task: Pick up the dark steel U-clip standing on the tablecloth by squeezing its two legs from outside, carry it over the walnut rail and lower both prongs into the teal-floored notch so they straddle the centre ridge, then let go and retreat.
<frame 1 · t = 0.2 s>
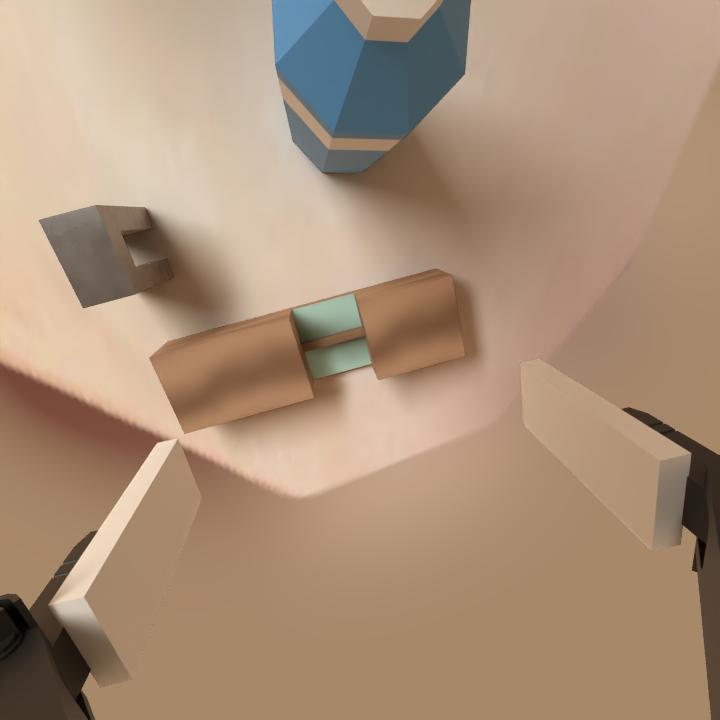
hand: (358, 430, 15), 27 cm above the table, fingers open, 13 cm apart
water bottle: (341, 120, 36), on the table
rail: (314, 341, 42), on the table
clip: (138, 248, 38), on the table
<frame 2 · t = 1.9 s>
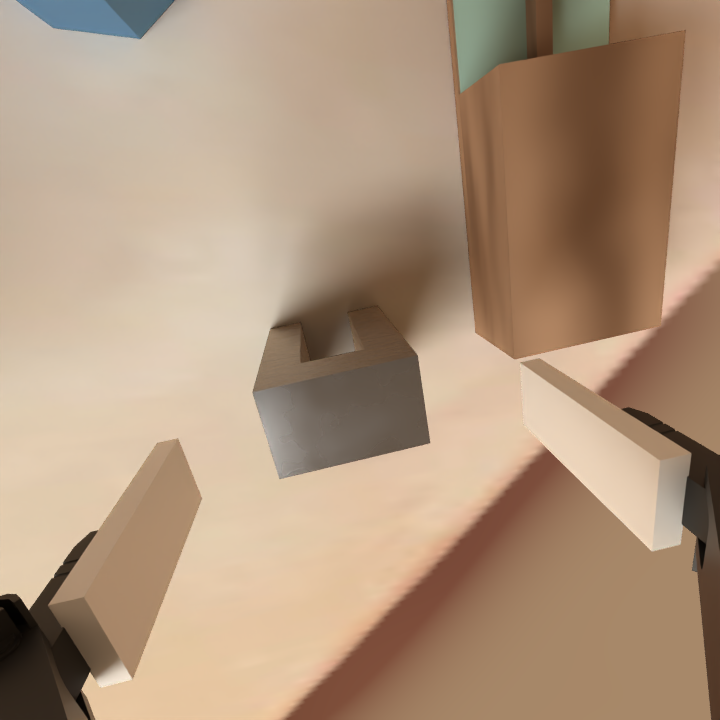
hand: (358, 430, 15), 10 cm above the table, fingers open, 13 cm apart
rail: (528, 56, 21), on the table
clip: (331, 348, 25), on the table
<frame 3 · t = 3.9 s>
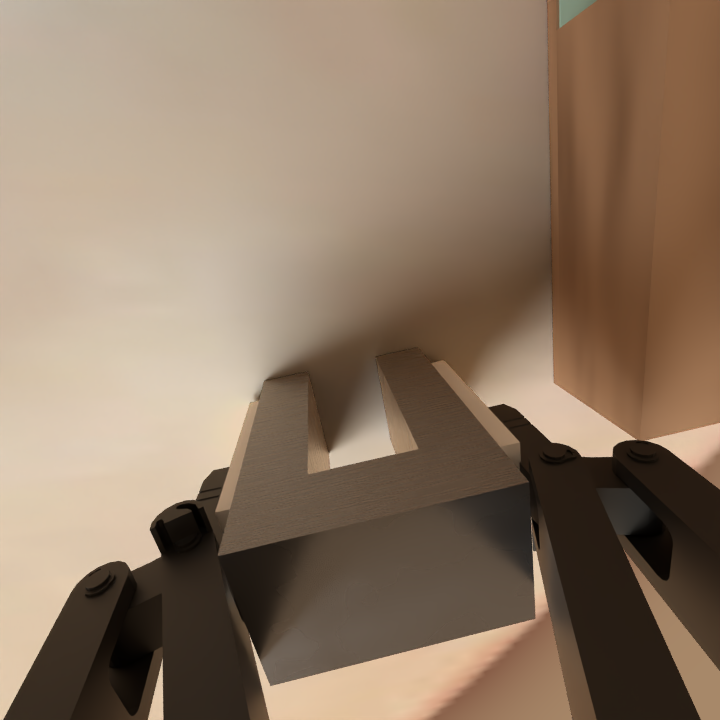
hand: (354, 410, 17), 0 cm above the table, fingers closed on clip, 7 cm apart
clip: (351, 407, 17), on the table, touching gripper
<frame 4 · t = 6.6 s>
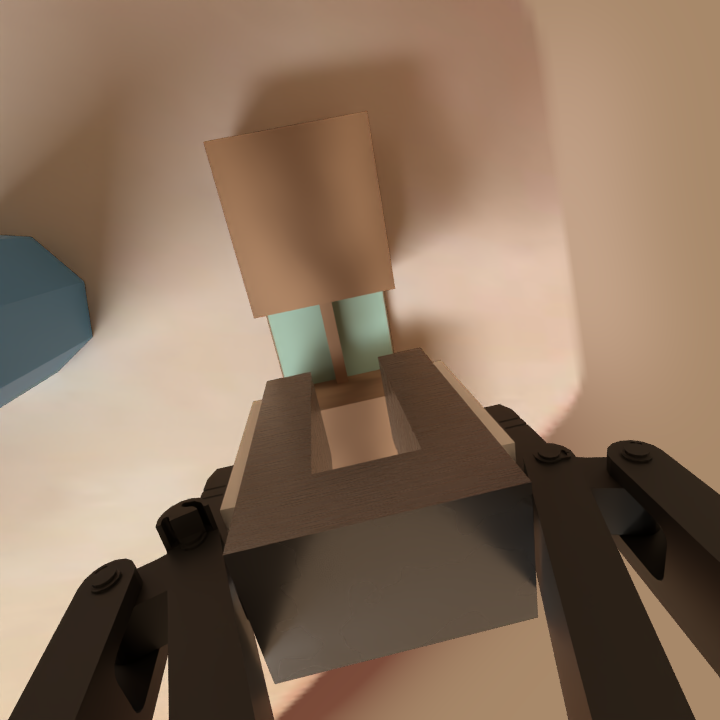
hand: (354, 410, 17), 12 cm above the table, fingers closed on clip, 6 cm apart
water bottle: (15, 306, 26), on the table
rail: (337, 359, 29), on the table
clip: (353, 407, 17), point 12 cm above the table, touching gripper
when the fingers open (3 cm above the table, at t = 8.7 s): clip drops 2 cm, resting on rail.
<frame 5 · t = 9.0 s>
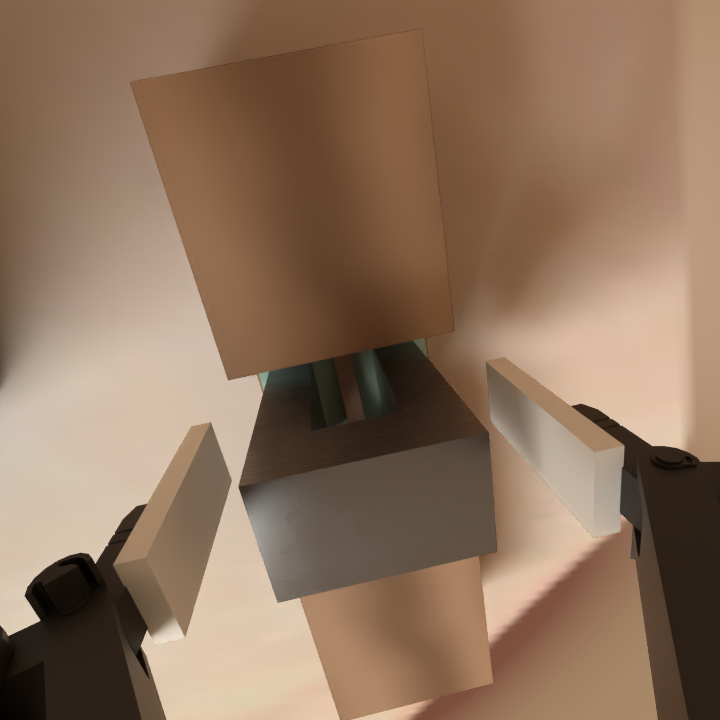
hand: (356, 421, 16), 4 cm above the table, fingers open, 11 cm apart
rail: (355, 418, 21), on the table
clip: (348, 388, 19), point 1 cm above the table, touching rail
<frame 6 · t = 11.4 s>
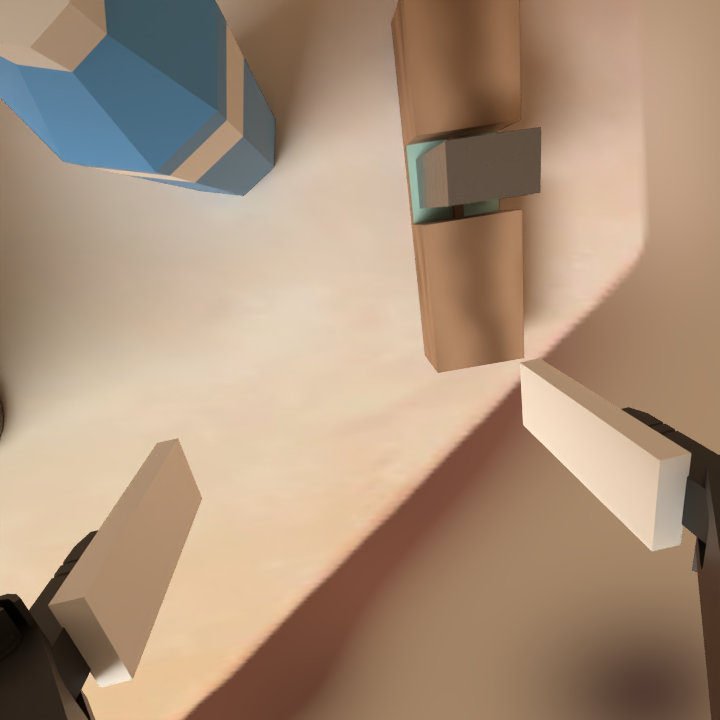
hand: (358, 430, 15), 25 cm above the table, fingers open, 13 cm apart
water bottle: (222, 137, 34), on the table
rail: (453, 203, 37), on the table
clip: (453, 179, 36), point 1 cm above the table, touching rail
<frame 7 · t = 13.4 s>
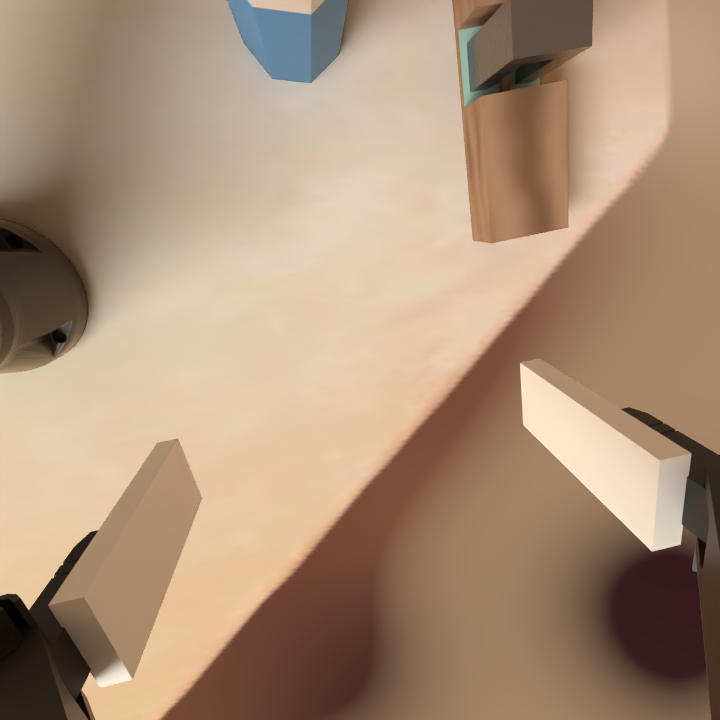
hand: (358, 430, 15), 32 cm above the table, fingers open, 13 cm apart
water bottle: (292, 26, 37), on the table
rail: (499, 88, 40), on the table
clip: (500, 63, 39), point 1 cm above the table, touching rail
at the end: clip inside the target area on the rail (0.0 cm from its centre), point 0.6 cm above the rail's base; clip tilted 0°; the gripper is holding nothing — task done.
